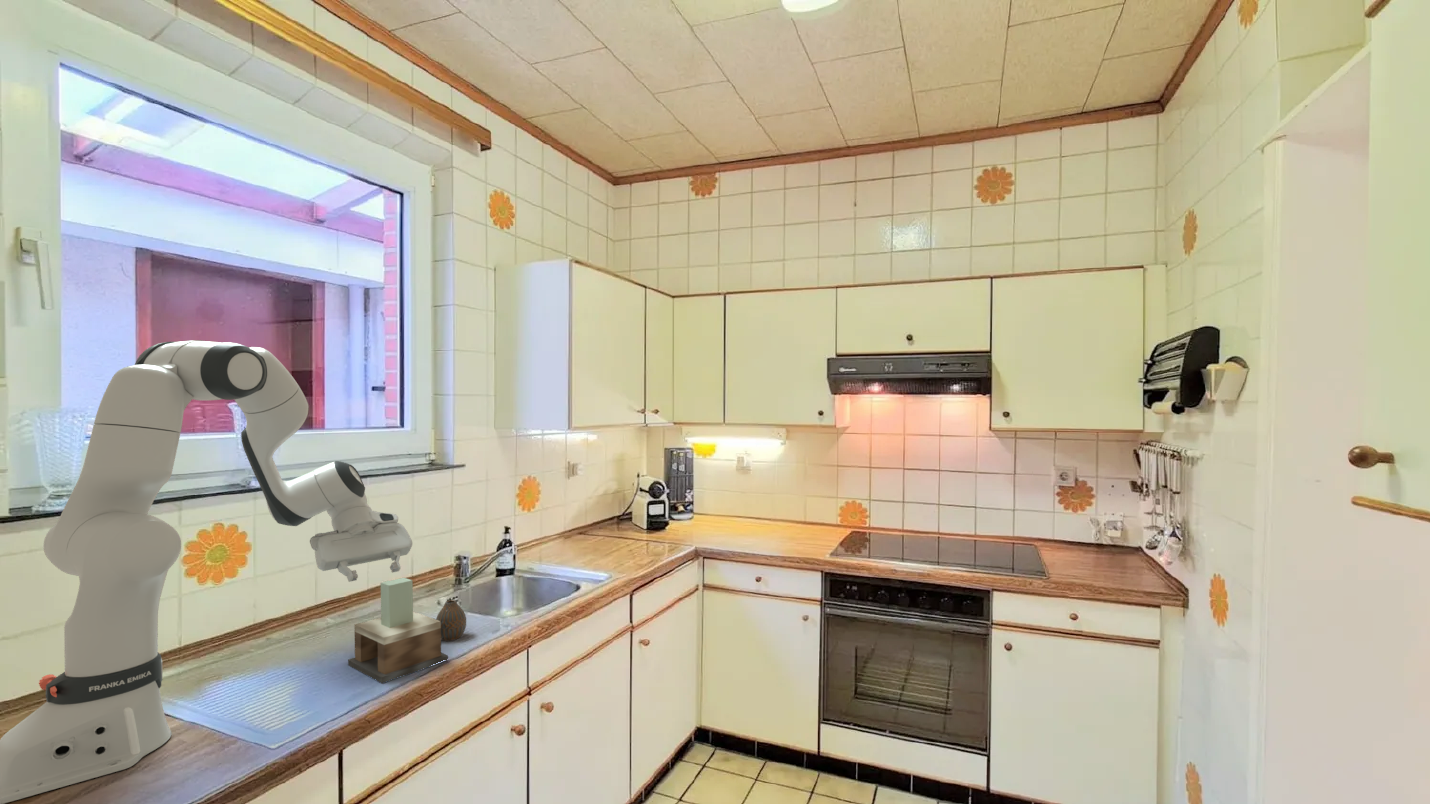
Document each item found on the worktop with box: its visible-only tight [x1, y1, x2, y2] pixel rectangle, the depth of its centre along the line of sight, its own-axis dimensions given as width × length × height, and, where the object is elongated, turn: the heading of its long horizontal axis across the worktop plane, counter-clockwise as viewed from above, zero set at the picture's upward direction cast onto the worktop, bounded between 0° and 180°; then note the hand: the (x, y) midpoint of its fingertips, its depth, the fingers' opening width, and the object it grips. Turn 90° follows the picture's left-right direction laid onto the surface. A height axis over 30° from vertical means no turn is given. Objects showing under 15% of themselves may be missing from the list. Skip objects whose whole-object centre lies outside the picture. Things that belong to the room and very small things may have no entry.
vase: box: [435, 599, 467, 642], centre depth 152 cm, size 7×7×9 cm
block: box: [380, 577, 414, 628], centre depth 137 cm, size 5×4×9 cm
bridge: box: [347, 610, 449, 684], centre depth 137 cm, size 14×16×9 cm
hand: (375, 574), depth 144 cm, fingers open, 8 cm apart
